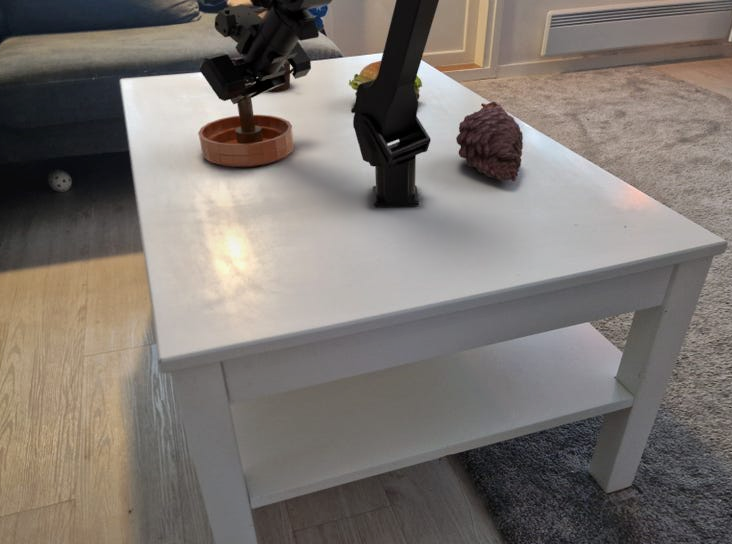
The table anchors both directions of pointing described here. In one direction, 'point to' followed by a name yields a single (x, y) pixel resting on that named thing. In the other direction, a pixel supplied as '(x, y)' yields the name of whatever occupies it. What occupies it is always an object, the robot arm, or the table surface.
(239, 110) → the brown wooden peg
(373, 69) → the food
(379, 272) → the table surface
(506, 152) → the pine cone
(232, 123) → the bowl
